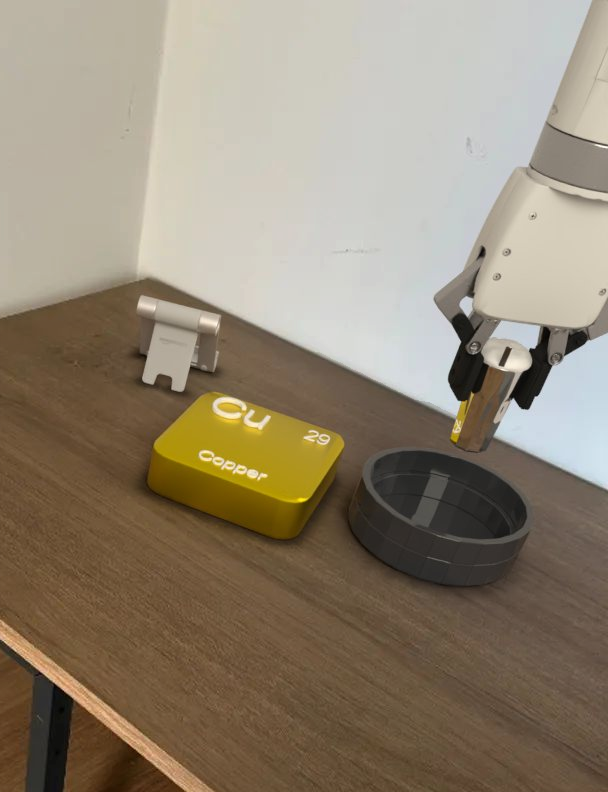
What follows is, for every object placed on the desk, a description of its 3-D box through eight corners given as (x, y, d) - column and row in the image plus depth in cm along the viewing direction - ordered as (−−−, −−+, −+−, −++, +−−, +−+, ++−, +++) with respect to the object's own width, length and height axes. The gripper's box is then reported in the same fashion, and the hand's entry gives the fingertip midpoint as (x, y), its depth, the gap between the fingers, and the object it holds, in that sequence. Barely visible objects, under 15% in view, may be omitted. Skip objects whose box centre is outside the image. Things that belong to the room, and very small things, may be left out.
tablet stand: (215, 369, 109) (230, 297, 104) (200, 398, 103) (215, 323, 98) (143, 350, 110) (154, 278, 105) (124, 377, 104) (135, 302, 99)
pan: (484, 500, 95) (504, 457, 92) (534, 598, 84) (559, 552, 81) (333, 483, 94) (348, 438, 91) (364, 580, 82) (382, 532, 79)
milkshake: (436, 451, 81) (479, 338, 75) (445, 425, 85) (487, 315, 78) (490, 467, 80) (539, 354, 74) (497, 440, 84) (543, 330, 77)
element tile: (138, 489, 88) (146, 443, 85) (200, 424, 99) (209, 382, 96) (291, 547, 84) (305, 501, 81) (338, 474, 95) (352, 431, 92)
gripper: (676, 164, 71) (568, 389, 83) (458, 130, 70) (379, 364, 82) (724, 197, 66) (601, 433, 78) (488, 160, 64) (399, 407, 76)
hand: (488, 395), depth 79 cm, fingers closed on milkshake, 4 cm apart
